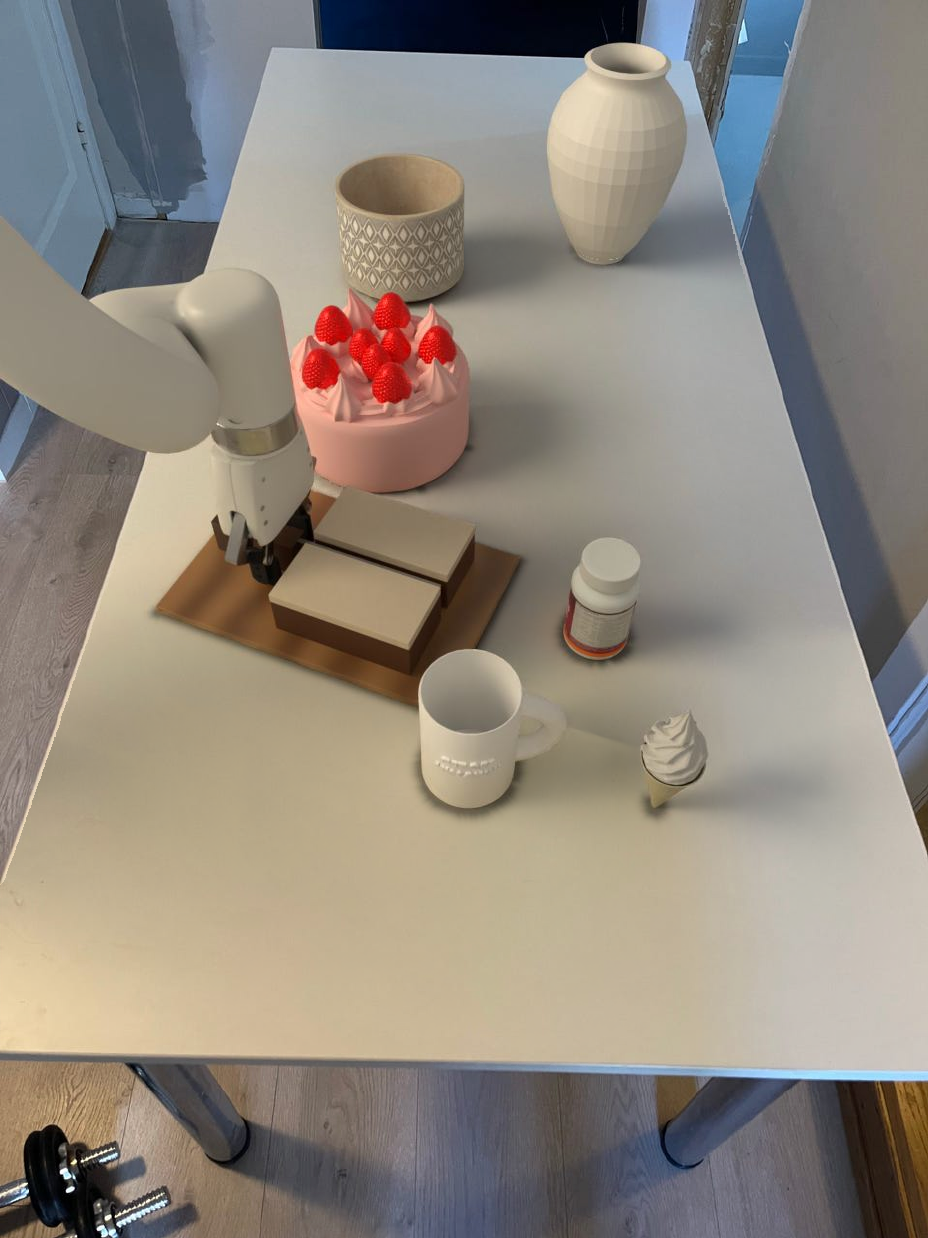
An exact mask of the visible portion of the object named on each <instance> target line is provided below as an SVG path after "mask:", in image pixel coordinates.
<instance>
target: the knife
mask: <svg viewBox="0 0 928 1238" xmlns="http://www.w3.org/2000/svg"><path fill="white" fill-rule="evenodd" d="M210 523H211V527H212V530H213V535H214V534H215V538H216V541H217V544H218V548H219V549H220V550H223V551H226V550H227V546H228V541H229V536H228V535H226V534H224V533H223V531H222V529H221V526H220V522H219V519H218V514H217V513H216V514H215V516H214V517H213V518H212V520H211V521H210ZM305 543H308V544H311V545H314V546H317V547H320V548H323V549H326V550H329V551H332V552H335V553H338V554H341V555H344V556H347V557H350V558H353V559H356V560H359V561H362V562H365V563H368V564H371V565H374V566H377V567H380V568H383V569H386V570H389V571H392V572H395V573H398V574H401V575H404V576H407V577H410V578H413V579H416V580H419V581H422V582H425V583H428V584H431V585H434V586H438V587H440V590H441V584H438V583H435V582H432V581H429V580H425V579H422V578H419V577H416V576H413V575H410V574H407V573H404V572H401V571H398V570H395V569H392V568H389V567H386V566H383V565H380V564H377V563H374V562H371V561H368V560H365V559H362V558H359V557H356V556H353V555H350V554H347V553H344V552H340V551H337V550H334V549H331V548H328V547H325V546H322V545H319V544H316V543H313V542H310V541H307V540H306V537H305V532H304V530H301V529H298V528H295V527H292V526H289V525H286V524H285V526H284V527H283V528H282V530H281V531H280V532H279V533H278V535H277V536H276V537H275V538H274V555H273V556H276V557H278V559H279V563H280V567H281V570H282V571H286V570H287V568H288V567H289V565H290V564H291V563H292V561H293V560H294V558H295V557H296V556H297V554H298V553H299V551H300V550H301V549H302V547H303V546H304V544H305ZM253 547H257V548H260V549H262V546H260V545H259V543H258V541H257V540H255V539H253ZM440 595H441V594H440ZM441 610H442V599H441Z"/></svg>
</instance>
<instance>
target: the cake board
mask: <svg viewBox="0 0 928 1238" xmlns="http://www.w3.org/2000/svg"><path fill="white" fill-rule="evenodd" d="M309 498H310V500H311V502H312V507H311V510H310V511H309V512H308V513H307V514H310V517H311V523H312V529H313V532H314V530H315V529H316V527H317V526H318V525H319V523H320V522H321V520H322V519H323V518H324V516H325V515H326V513H327V512H328V511H329V509H330V508H331V506H332V505H333V504H334V502H335V501H336V499H337V498H338V497H333V496H330V495H326V494H324V493H321V492H318V491H314V490H311V491H310V495H309ZM313 535H314V533H313ZM313 543H315V539H314V541H313ZM225 555H226V551H223V550H220V549H219V548H218V544H217V541H216V538H215V534H214V533H213V534H212V536H211V537H210V538H209V540H207V542H206V543H205V545H204V546H203V547H202V548H201V550H199V552H198V553H197V554H196V556H195V557H194V558H193V559H192V561H191V562H190V563H189V564H188V565H187V567H186V568H185V569H184V570H183V572H182V573H181V574H180V576H179V577H178V578H177V579H176V580H175V581H174V583H173V584H172V585H171V587H169V589H168V591H166V593H165V594H164V595H163V596H162V598H161V599H160V600H159V602H158V603H157V604H156V605H155V608H156V611H157V613H158V614H161V615H163V616H166V617H169V618H172V619H175V620H177V621H180V622H183V623H186V624H189V625H191V626H193V627H197V628H199V629H202V630H204V631H208V632H211V633H213V634H215V635H218V636H221V637H224V638H227V639H229V640H232V641H234V642H237V643H240V644H243V645H246V646H248V647H251V648H254V649H256V650H259V651H261V652H262V651H263V652H265V653H267V654H270V655H273V656H276V657H279V658H282V659H284V660H287V661H290V662H292V663H294V664H297V665H300V666H303V667H305V668H308V669H311V670H314V671H317V672H319V673H322V674H325V675H328V676H331V677H333V678H336V679H339V680H341V681H343V682H344V681H345V682H347V683H350V684H352V685H354V686H358V687H361V688H363V689H366V690H369V691H371V692H374V693H377V694H379V695H383V696H385V697H387V698H391V699H393V700H397V701H399V702H401V703H404V704H407V705H410V706H411V707H412V706H413V707H416V708H418V709H419V697H418V693H419V685H420V681H421V679H422V677H423V675H424V673H425V671H426V670H427V669H428V668H429V667H430V665H431V664H432V663H433V662H435V661H436V660H437V659H439V658H440V657H442V656H444V655H446V654H448V653H451V652H454V651H457V650H464V649H476V648H477V646H478V644H479V642H480V640H481V638H482V637H483V634H484V632H485V630H486V628H487V626H488V625H489V622H490V620H491V619H492V617H493V614H494V612H495V610H496V608H497V607H498V605H499V602H500V601H501V599H502V597H503V594H504V593H505V591H506V589H507V587H508V585H509V583H510V581H511V579H512V577H513V575H514V573H515V571H516V569H517V567H518V565H519V563H520V556H519V555H517V554H514V553H511V552H507V551H505V550H502V549H498V548H496V547H495V548H494V547H492V546H489V545H485V544H483V543H479V542H476V541H475V556H474V561H473V563H472V565H471V567H470V568H469V570H468V572H467V574H466V576H465V578H464V579H463V581H462V583H461V585H460V587H459V589H458V590H457V592H456V594H455V596H454V598H453V599H452V601H451V603H450V605H449V607H448V608H447V609H446V608H443V607H442V610H441V621H440V623H439V625H438V627H437V629H436V631H435V632H434V634H433V636H432V638H431V640H430V641H429V643H428V645H427V647H426V649H425V651H424V652H423V654H422V656H421V658H420V660H419V662H418V663H417V665H416V667H415V669H414V671H413V672H412V674H411V676H409V675H406V674H403V673H401V672H398V671H395V670H392V669H389V668H387V667H384V666H381V665H378V664H376V663H373V662H370V661H367V660H364V659H362V658H359V657H356V656H353V655H350V654H348V653H345V652H342V651H339V650H336V649H334V648H331V647H328V646H325V645H322V644H320V643H317V642H314V641H311V640H308V639H306V638H303V637H300V636H297V635H294V634H292V633H289V632H286V631H283V630H280V629H278V628H276V624H275V620H274V616H273V612H272V608H271V604H270V599H269V593H270V592H271V591H272V589H273V588H274V586H272V585H269V584H268V585H265V584H262V583H259V582H258V581H257V580H255V579H254V578H253V576H252V572H251V569H250V565H249V564H246V565H241V566H237V565H234V564H231V563H228V562H226V561H225ZM281 572H282V575H283V574H284V572H285V571H282V570H281Z"/></svg>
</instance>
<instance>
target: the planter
mask: <svg viewBox="0 0 928 1238" xmlns="http://www.w3.org/2000/svg"><path fill="white" fill-rule="evenodd" d="M334 197H335V207H336V216H337V226H338V236H339V245H340V247H339V248H340V254H341V255H340V256H341V265H342V273H343V276H344V278H345V280H346V281H347V282H348V284H349V285H350V286H351V287H353V289H355V290H357V291H358V292H360V293H362V294H363V295H366V296H368V297H371V298H374V299H378V300H380V298H381V297H382V296H383V295H384V294H386V293H388V292H394V293H396V294H398V295H399V296H400V297H401V298H402V299H403V301H404V302H405V303H415V302H420V301H425V300H428V299H430V298H434V297H436V296H439V295H441V294H443V293H445V292H447V291H448V290H450V289H451V288H453V287H454V286H455V285H456V284H457V283H458V282H459V280H460V279H461V278H462V275H463V273H464V261H465V260H464V258H465V257H464V254H465V253H464V252H465V251H464V249H465V181H464V178H463V176H462V174H461V173H460V172H459V171H458V170H457V169H456V168H455V167H453V166H452V165H450V164H449V163H447V162H445V161H442V160H441V159H438V158H434V157H431V156H427V155H421V154H415V153H388V154H387V153H385V154H379V155H374V156H370V157H367V158H364V159H361V160H357V161H356V162H353V163H352V164H350V165H349V166H347V167H345V168H344V169H343V170H342V171H341V172H340V173H339V174H338V175H337V177H336V178H335V182H334Z"/></svg>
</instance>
